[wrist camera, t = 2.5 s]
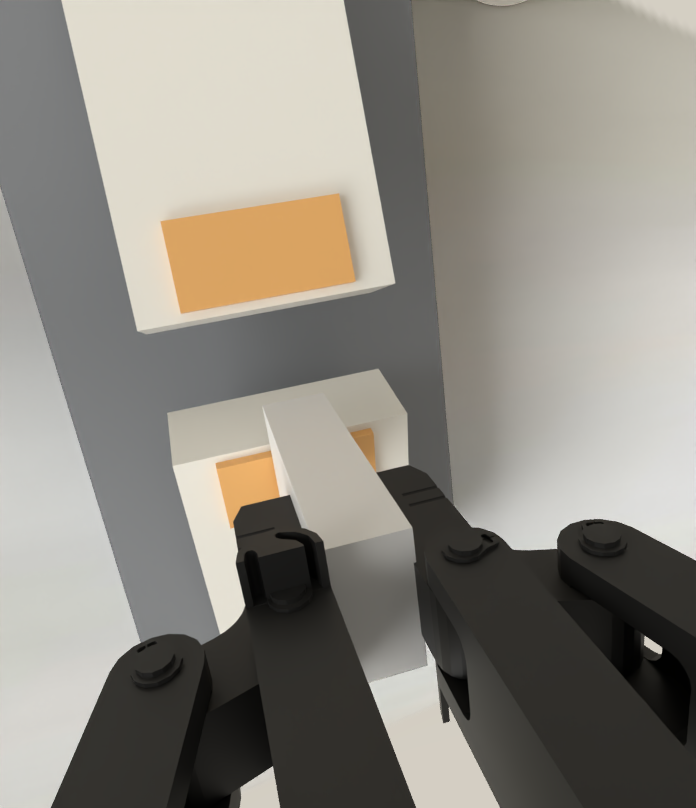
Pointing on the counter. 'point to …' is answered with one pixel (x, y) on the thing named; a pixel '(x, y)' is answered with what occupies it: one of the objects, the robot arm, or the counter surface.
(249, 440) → the rocker
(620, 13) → the counter surface
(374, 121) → the switch unit
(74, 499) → the counter surface
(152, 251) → the plate
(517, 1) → the cosmetic bottle
